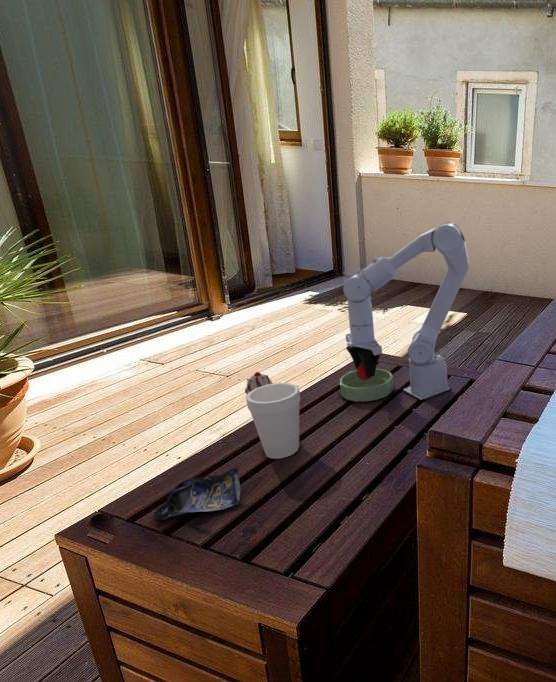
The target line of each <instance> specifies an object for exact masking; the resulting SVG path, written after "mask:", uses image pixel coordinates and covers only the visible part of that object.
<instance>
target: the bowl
mask: <svg viewBox="0 0 556 682" xmlns="http://www.w3.org/2000/svg"><path fill="white" fill-rule="evenodd" d="M393 377H394V376H393V374H392V372H391V371H388V370H386V369H382V368H376V371H375V376H373V377H372V378H371V379H369V380H362V379H360V378H359V377H358V375H357V370H356V369H355V370H351V371H349V372H347V373H345V374H343V375H342V376H341V377H340V378H339V389H340V391H339V392H340V396H341V397H342V398H344V399H345V400H347V401H352V402H371V401H377V400H380V399H383V398H385V397H388V396H389V395H390V394H392V392H393V391H394V388H395V387H394V378H393Z"/></svg>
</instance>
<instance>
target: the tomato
mask: <svg viewBox="0 0 556 682" xmlns="http://www.w3.org/2000/svg"><path fill="white" fill-rule="evenodd" d="M357 375H358V377H359V378H360V379H362V380H369V379H371V378H372V377H373V376H372V377H368V378H367V377H366V375H365V371H364V366H363V363H362V362H361V363H360V365H359V367H358V368H357Z"/></svg>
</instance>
